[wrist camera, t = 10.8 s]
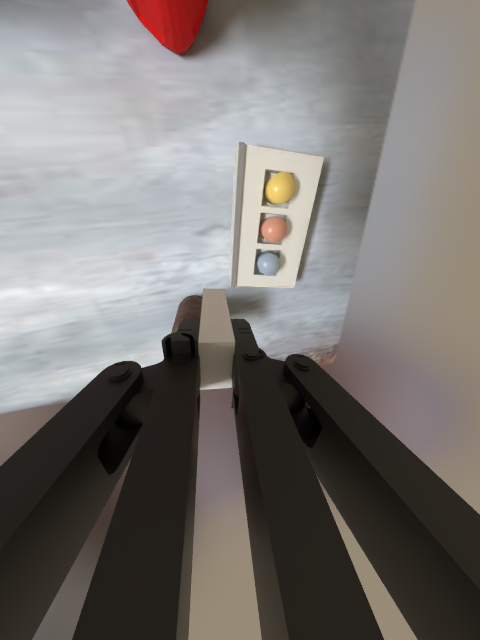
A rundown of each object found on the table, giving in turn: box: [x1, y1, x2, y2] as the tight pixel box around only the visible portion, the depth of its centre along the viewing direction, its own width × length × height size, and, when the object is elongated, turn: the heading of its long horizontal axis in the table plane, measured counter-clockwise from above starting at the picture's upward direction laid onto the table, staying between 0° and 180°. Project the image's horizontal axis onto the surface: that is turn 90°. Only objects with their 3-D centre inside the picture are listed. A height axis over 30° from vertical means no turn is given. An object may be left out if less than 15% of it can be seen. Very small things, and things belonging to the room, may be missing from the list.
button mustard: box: [264, 171, 295, 205], centre depth 30 cm, size 4×4×4 cm
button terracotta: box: [259, 217, 287, 243], centre depth 33 cm, size 4×4×4 cm
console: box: [229, 142, 324, 288], centre depth 35 cm, size 22×14×6 cm, turn 176°
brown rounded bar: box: [172, 296, 202, 333], centre depth 35 cm, size 8×7×20 cm
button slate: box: [256, 251, 281, 276], centre depth 36 cm, size 4×4×4 cm
